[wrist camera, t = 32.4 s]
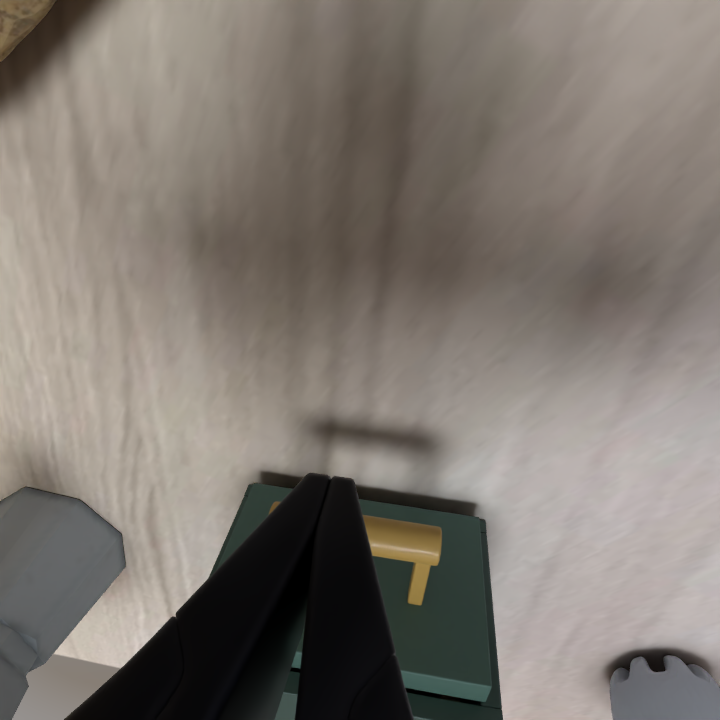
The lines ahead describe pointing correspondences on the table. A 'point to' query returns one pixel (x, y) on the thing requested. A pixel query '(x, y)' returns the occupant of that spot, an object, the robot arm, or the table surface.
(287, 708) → the cabinet
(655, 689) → the bottle
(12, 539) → the coffee maker
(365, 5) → the table surface
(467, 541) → the drawer
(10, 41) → the oil lamp
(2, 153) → the table surface
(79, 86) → the table surface
